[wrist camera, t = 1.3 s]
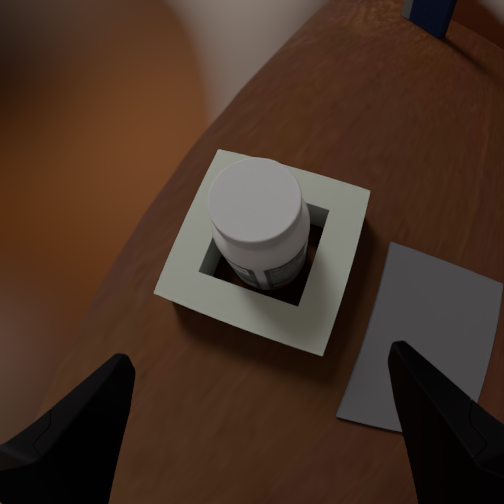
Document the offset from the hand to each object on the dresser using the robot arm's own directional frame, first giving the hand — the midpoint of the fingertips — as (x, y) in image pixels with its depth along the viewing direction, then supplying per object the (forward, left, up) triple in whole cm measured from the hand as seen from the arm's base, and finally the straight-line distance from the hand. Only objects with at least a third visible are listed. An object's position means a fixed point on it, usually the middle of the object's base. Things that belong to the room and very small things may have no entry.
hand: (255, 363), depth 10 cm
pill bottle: (+7, +3, -13) cm, 15 cm away
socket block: (+7, +3, -13) cm, 15 cm away
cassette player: (+49, -8, -13) cm, 51 cm away
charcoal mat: (+4, -12, -13) cm, 18 cm away
